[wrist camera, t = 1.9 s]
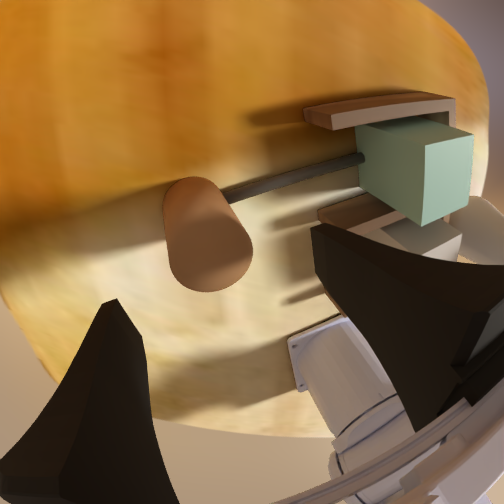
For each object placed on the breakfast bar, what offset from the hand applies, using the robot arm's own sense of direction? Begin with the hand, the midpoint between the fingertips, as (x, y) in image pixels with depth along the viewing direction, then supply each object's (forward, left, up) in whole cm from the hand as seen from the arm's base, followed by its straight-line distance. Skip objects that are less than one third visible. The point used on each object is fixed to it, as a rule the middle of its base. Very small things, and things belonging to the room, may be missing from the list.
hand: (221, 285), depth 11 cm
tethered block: (0, -7, -7) cm, 10 cm away
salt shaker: (-8, -22, -8) cm, 25 cm away
